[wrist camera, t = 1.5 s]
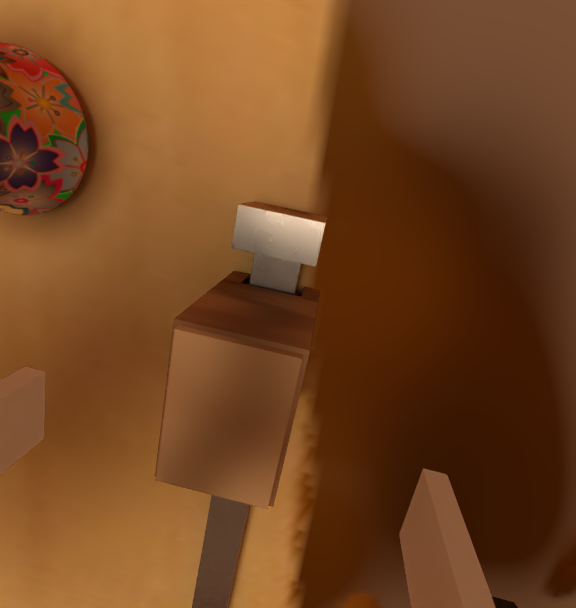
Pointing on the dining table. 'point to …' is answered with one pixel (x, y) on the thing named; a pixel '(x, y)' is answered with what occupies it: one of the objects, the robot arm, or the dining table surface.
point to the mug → (38, 134)
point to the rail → (274, 276)
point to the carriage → (234, 389)
